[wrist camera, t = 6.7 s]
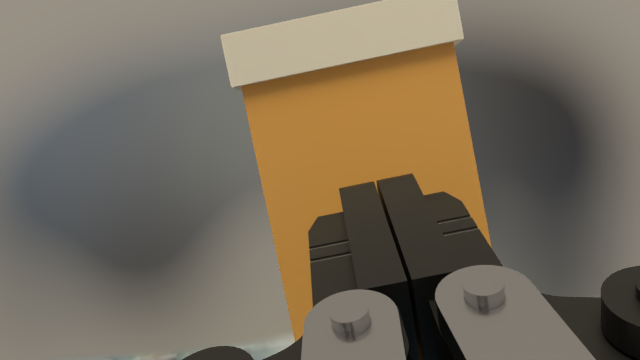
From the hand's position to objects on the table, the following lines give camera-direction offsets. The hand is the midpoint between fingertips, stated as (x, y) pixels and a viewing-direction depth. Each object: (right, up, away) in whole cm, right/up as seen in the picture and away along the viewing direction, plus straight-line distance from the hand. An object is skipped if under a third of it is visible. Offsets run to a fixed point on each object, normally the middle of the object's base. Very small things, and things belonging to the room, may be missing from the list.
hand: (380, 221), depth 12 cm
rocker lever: (+2, -8, +4) cm, 9 cm away
